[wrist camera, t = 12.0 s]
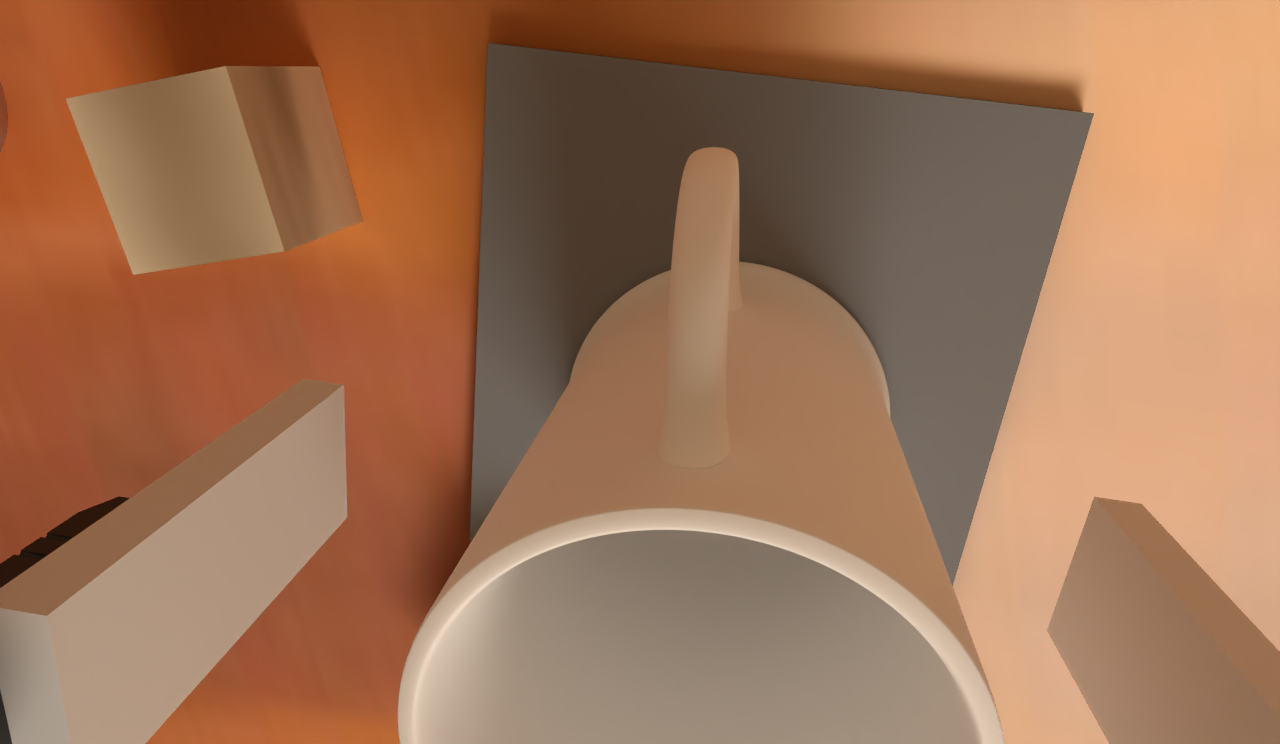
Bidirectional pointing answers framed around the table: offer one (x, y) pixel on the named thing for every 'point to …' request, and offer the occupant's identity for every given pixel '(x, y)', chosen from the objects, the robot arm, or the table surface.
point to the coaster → (769, 237)
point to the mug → (706, 536)
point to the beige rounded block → (3, 118)
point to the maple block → (217, 164)
